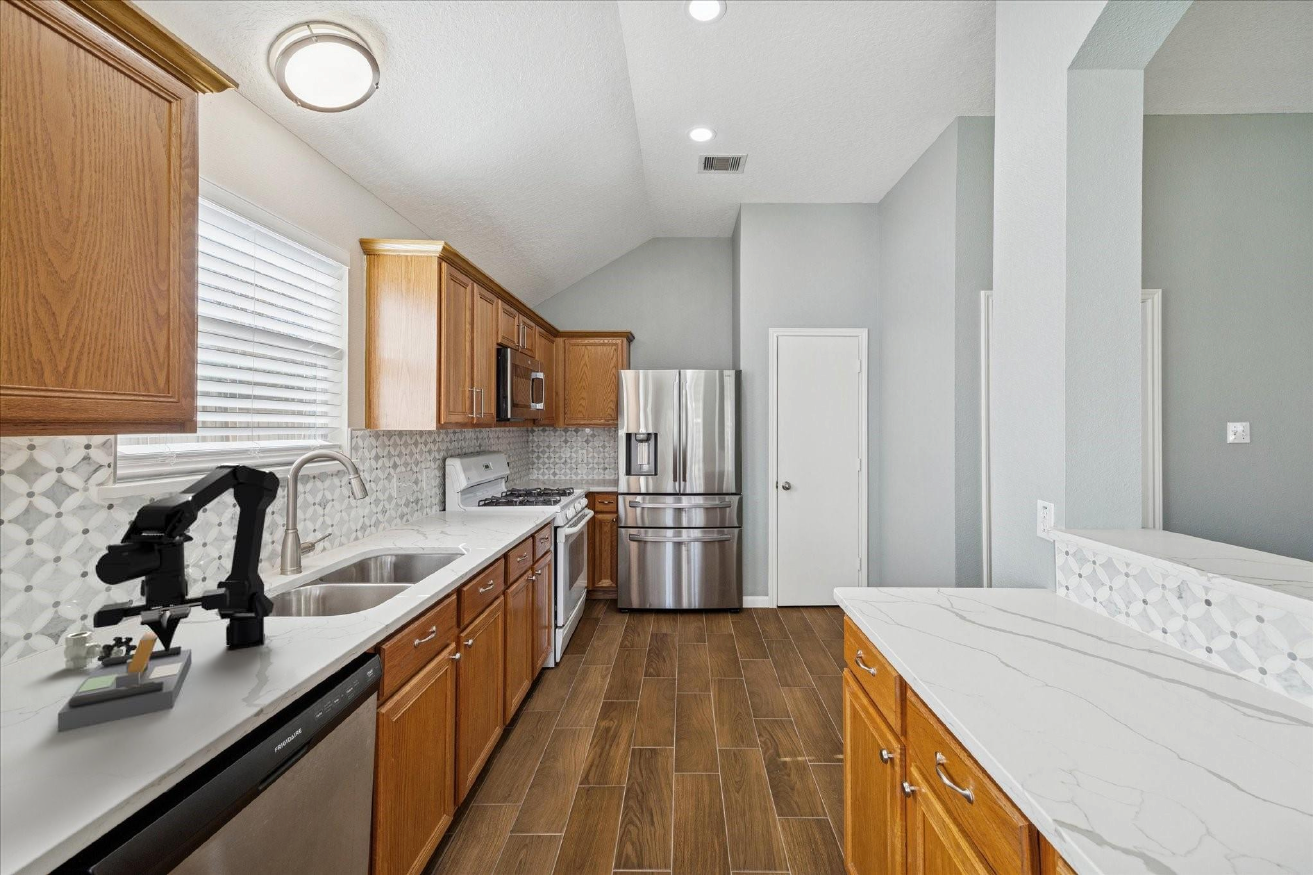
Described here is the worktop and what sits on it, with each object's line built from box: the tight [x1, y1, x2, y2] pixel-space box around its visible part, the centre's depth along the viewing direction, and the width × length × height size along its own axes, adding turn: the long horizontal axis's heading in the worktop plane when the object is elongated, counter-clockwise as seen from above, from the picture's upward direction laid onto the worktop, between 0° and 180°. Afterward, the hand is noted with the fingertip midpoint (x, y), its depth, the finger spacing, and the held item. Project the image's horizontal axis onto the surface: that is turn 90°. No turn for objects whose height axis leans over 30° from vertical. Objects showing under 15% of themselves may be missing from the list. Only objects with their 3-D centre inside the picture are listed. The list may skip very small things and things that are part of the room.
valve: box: [63, 631, 138, 670], centre depth 113 cm, size 7×7×12 cm
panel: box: [57, 645, 192, 733], centre depth 101 cm, size 14×22×5 cm, turn 34°
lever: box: [127, 631, 159, 675], centre depth 102 cm, size 2×5×6 cm, turn 34°
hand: (167, 651), depth 104 cm, fingers closed
